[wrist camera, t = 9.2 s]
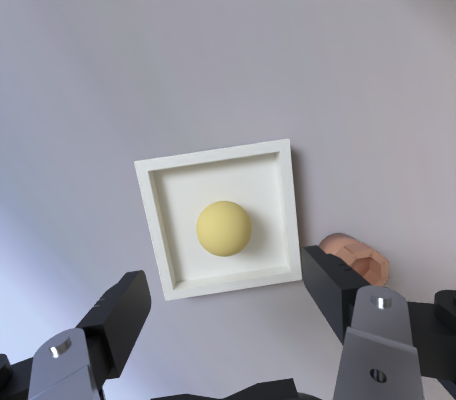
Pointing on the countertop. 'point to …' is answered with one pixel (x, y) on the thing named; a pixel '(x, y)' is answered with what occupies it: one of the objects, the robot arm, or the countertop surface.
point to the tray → (213, 192)
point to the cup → (358, 257)
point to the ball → (224, 228)
